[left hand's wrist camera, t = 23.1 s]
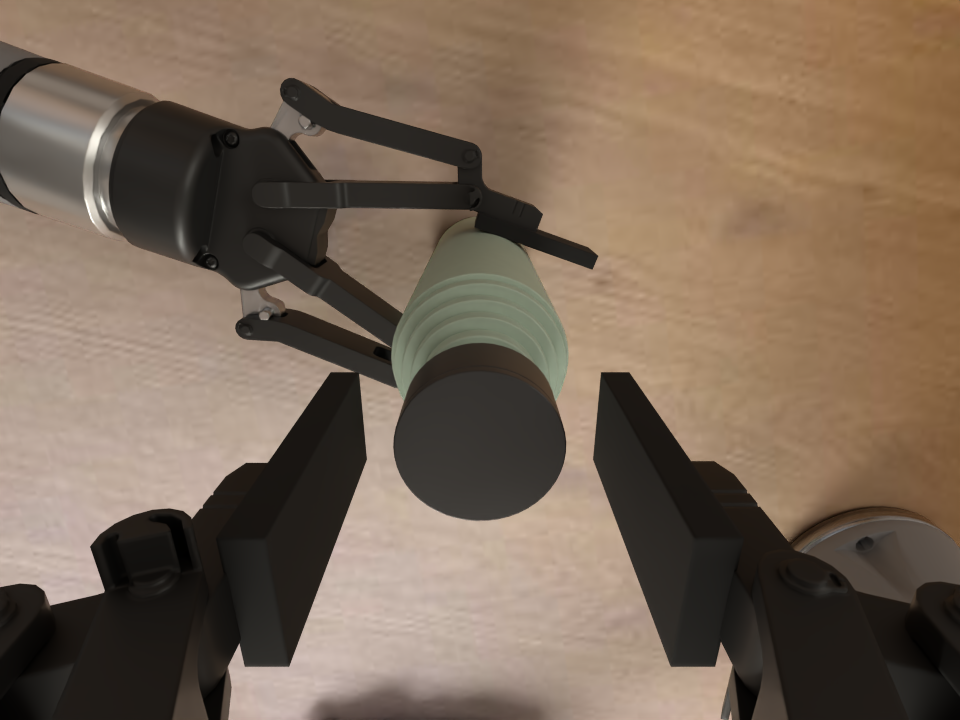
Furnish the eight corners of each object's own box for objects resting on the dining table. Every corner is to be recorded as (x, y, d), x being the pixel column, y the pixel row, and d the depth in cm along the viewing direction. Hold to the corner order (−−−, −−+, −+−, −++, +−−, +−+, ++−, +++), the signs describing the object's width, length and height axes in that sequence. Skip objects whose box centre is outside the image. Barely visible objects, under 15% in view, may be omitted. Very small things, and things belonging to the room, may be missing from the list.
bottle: (427, 221, 34) (336, 332, 12) (523, 211, 34) (599, 307, 12) (439, 313, 36) (380, 542, 15) (529, 304, 36) (603, 523, 14)
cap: (468, 310, 14) (466, 335, 12) (586, 404, 15) (602, 440, 13) (374, 422, 15) (358, 461, 13) (489, 501, 16) (490, 548, 14)
